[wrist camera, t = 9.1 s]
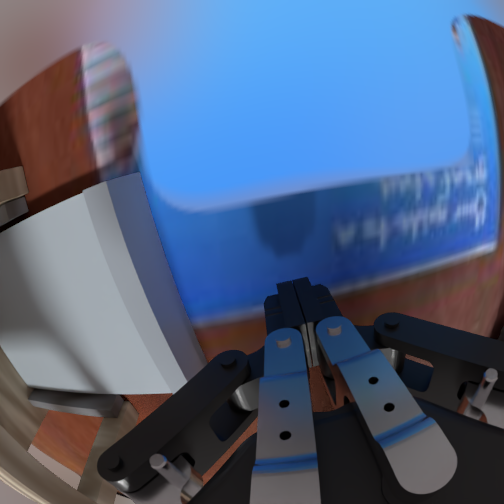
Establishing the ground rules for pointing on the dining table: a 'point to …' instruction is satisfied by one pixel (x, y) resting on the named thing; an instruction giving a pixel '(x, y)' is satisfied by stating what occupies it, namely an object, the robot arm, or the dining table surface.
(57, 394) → the small table
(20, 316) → the slab
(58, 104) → the dining table surface
